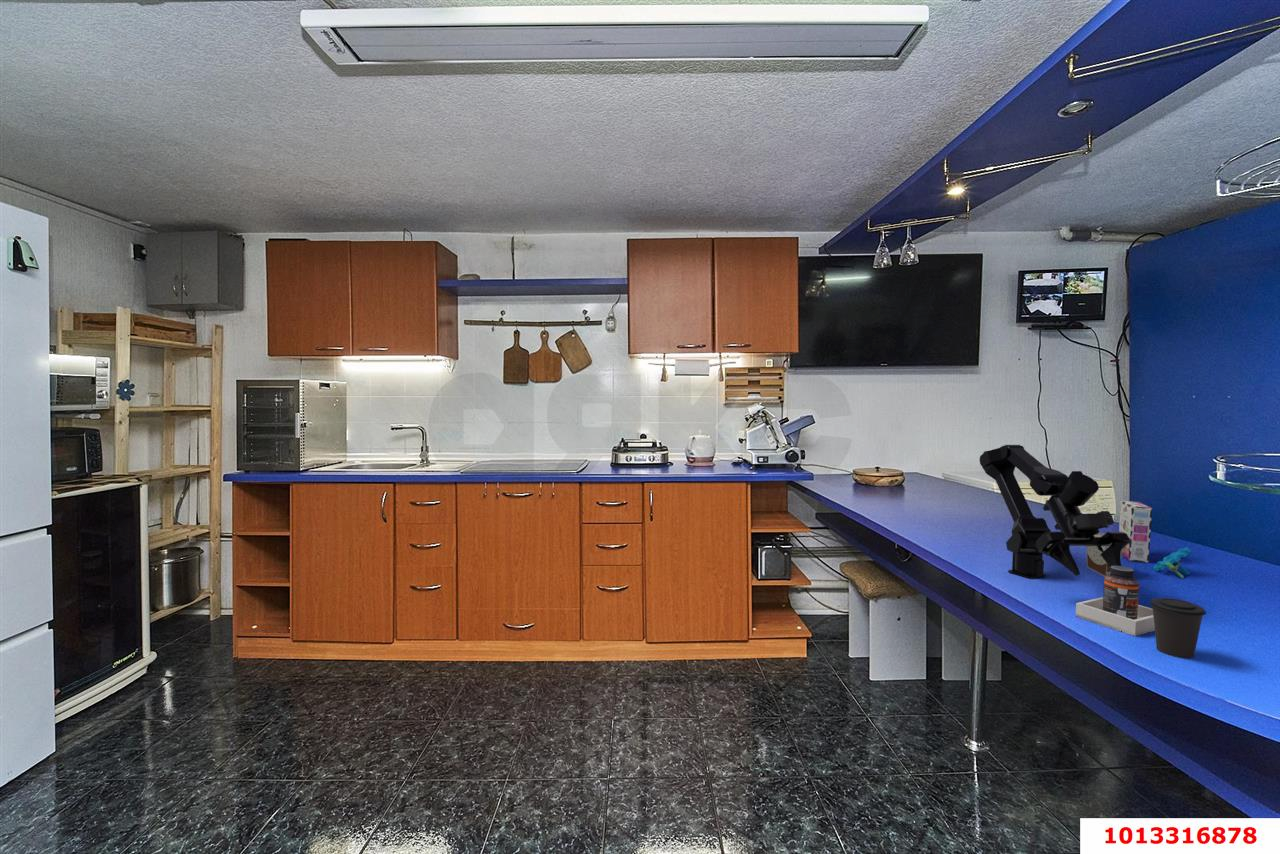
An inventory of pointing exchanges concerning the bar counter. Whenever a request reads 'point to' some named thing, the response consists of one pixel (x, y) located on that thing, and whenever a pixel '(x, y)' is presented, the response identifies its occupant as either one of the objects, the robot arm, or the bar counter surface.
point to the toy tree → (1174, 562)
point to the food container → (1098, 559)
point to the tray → (1116, 617)
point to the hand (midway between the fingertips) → (1099, 575)
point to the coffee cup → (1176, 626)
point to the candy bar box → (1136, 530)
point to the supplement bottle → (1121, 592)
